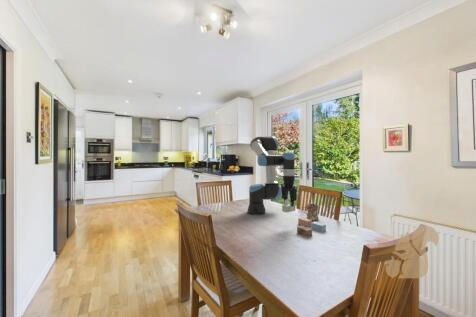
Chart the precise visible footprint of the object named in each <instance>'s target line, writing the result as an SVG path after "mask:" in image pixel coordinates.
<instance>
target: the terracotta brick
mask: <svg viewBox="0 0 476 317" xmlns="http://www.w3.org/2000/svg"><path fill="white" fill-rule="evenodd" d="M297 222H298V224H299V225H300V226H304V227H307V228H309V227H311V223H312V222H313V220H309V219H307V217H299V218H298V221H297Z"/></svg>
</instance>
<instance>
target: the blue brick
mask: <svg viewBox="0 0 476 317" xmlns="http://www.w3.org/2000/svg"><path fill="white" fill-rule="evenodd" d="M310 229H312V230H316V231H318V232H322V233H323V232H325V231H326V230H327V224H325V223H322V222H319V221H316V220H313V221H312V223H311V226H310Z"/></svg>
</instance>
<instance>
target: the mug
mask: <svg viewBox="0 0 476 317" xmlns="http://www.w3.org/2000/svg"><path fill="white" fill-rule="evenodd" d="M319 207H320V205H319V204H317V203H307V204H306V205H305V206H303V207H302V211H303V213H304V214H306V219H309V220H312V221H319V216H318V210H319V209H320V208H319ZM305 208H306V210H307V212H305V210H304V209H305Z"/></svg>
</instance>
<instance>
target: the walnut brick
mask: <svg viewBox="0 0 476 317" xmlns="http://www.w3.org/2000/svg"><path fill="white" fill-rule="evenodd" d="M296 233H297V234H299V235H301V236H303V237H307V238H310V237H312V236H313V229H311V227H310V228H309V227H306V226H304V225H299V226H296Z"/></svg>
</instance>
